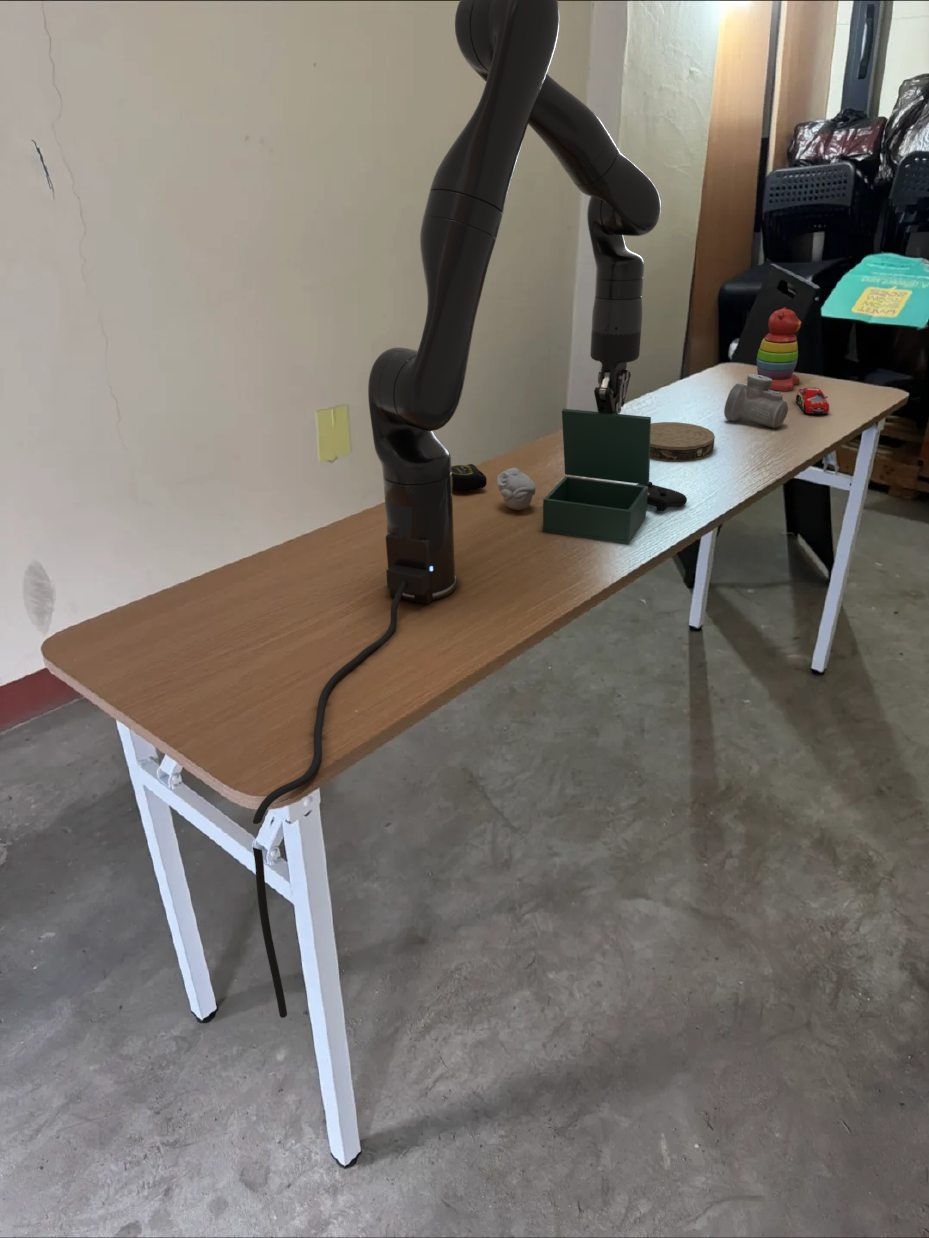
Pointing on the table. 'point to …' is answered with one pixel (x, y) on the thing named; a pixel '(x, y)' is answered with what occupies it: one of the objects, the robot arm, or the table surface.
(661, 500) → the game controller
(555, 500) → the chest
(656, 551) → the table surface
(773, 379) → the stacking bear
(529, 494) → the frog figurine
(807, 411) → the race car
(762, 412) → the pipe fitting
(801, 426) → the table surface
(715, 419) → the table surface
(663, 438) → the wood slice coaster
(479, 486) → the tape measure
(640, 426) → the lid
